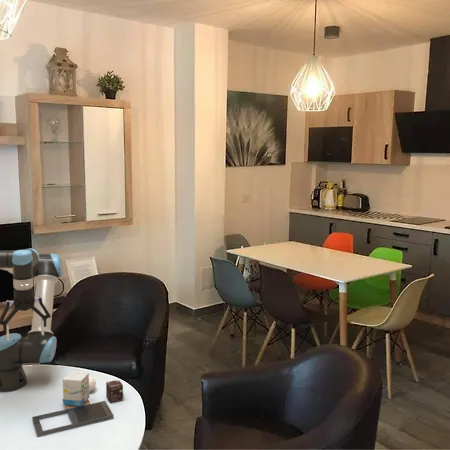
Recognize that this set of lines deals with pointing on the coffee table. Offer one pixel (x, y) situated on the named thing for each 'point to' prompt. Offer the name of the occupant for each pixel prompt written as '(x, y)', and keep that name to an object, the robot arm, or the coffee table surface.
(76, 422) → the grey flat frame
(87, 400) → the pad
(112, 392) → the box
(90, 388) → the ornament
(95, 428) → the coffee table surface
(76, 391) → the ink box
